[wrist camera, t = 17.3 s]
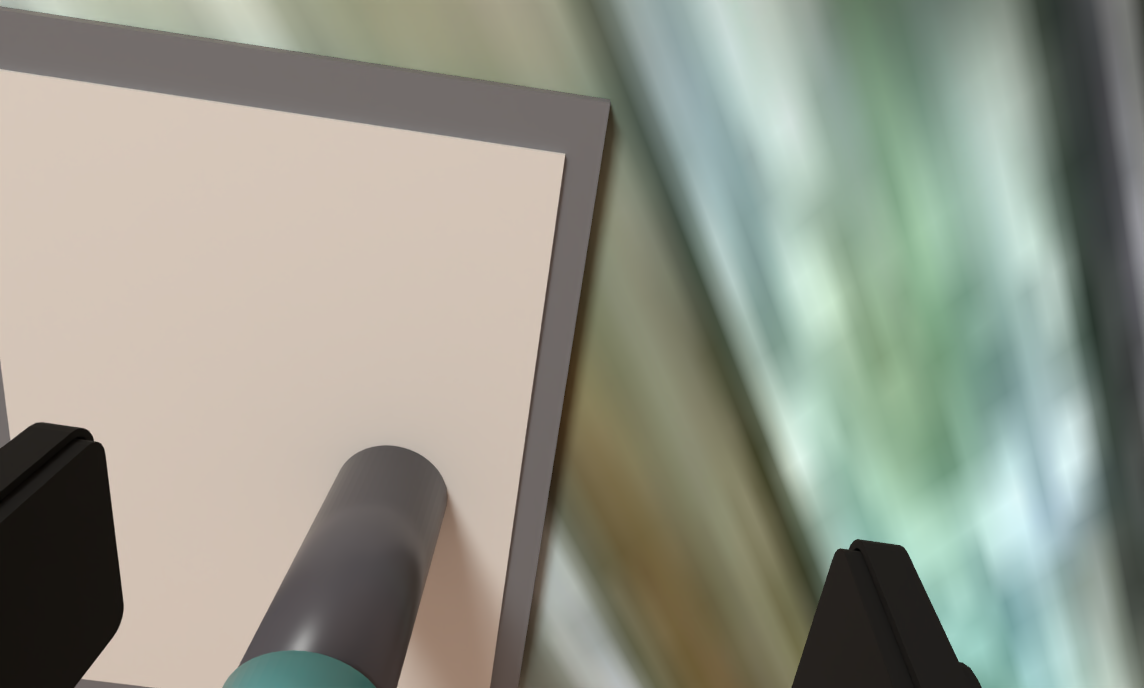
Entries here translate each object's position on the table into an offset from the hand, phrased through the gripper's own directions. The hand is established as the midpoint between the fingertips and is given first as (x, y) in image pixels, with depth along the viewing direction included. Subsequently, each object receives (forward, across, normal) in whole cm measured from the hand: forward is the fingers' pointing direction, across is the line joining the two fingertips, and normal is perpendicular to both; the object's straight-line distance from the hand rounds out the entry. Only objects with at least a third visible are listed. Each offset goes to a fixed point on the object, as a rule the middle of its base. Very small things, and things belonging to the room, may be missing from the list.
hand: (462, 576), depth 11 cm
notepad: (+15, +8, +8) cm, 19 cm away
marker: (+14, +4, +9) cm, 17 cm away
